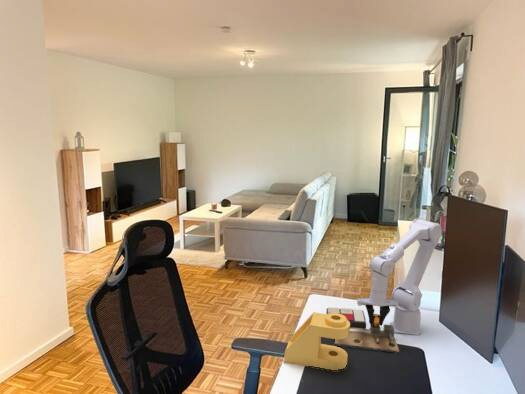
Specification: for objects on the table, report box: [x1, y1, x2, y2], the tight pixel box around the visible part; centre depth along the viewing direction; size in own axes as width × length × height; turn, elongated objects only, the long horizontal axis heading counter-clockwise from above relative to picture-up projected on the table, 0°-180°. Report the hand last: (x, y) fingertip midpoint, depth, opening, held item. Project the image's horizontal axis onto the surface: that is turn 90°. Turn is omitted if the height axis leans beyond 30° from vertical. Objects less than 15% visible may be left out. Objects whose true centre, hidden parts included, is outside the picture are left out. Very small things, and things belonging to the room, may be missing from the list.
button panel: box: [326, 307, 367, 329], centre depth 152 cm, size 11×4×15 cm
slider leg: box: [369, 313, 381, 343], centre depth 138 cm, size 3×9×7 cm, turn 171°
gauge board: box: [334, 323, 400, 353], centre depth 139 cm, size 22×13×5 cm, turn 81°
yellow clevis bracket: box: [283, 311, 350, 370], centre depth 125 cm, size 20×9×16 cm, turn 75°
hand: (375, 323), depth 141 cm, fingers closed on slider leg, 3 cm apart
